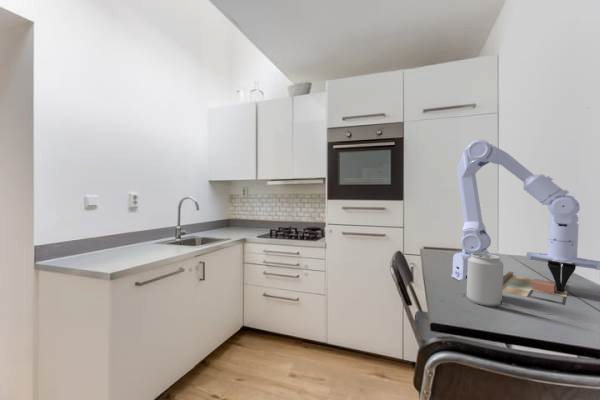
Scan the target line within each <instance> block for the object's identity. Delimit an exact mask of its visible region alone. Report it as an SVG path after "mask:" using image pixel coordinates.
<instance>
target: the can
mask: <svg viewBox="0 0 600 400" xmlns="http://www.w3.org/2000/svg"><path fill="white" fill-rule="evenodd" d="M471 255H472V256H471V257H470V258H469V259H468V271H467V276H466V278H467V279H466V297H467V298H468V299H469V300H470V301H471V302H473V303H474V304H477V305H481V306H484V305H485V306H486V307H497V306H499V305H500V304H502V302H503V301H502V300H503V292H502V289H503V277H504V263H503V262H502V261H501V260H500V259H501V257H500V256H498V255H495V254H491V253H489V254H484V253H472V254H471ZM485 306H484V307H485Z"/></svg>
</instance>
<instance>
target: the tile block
mask: <svg viewBox="0 0 600 400" xmlns="http://www.w3.org/2000/svg"><path fill="white" fill-rule="evenodd" d="M533 279H534V280H533V282H532V289H533V290H538V291H543V292H548V293H553V294H554V293H555V290H556V289H557V288H556V283H555V281H554V282H553V281H548V280H543V279H538V278H537V279H536V278H533ZM538 291H537V292H538ZM543 292H542V293H543ZM548 293H547V294H548ZM553 294H552V295H553Z"/></svg>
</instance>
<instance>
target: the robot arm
mask: <svg viewBox="0 0 600 400" xmlns="http://www.w3.org/2000/svg"><path fill="white" fill-rule="evenodd" d="M490 163H491V164H494V165H499V166H502V167H503V168H504V169H506V170H507V171H508V172H510V173H511V174H512V175H514V176H515V177H516V178H517V179H519V180H520V181H521V182H522V183H523V190H524V191H526V192H527V193H528V194H529V195H530V196H532V198H534V199H535V200H536V201H538V202H539V203H541V205H543V206H547V209H548V211H549V213H550V216H549V217H550V218H549V219H550V220H549V223H548V237H547V238H548V239H547V253H542V252H541V253H540V252H530V251H528V252H526V258H525V259H526V260H528V261H537V262H543V263H545V262H546V263H547V268H548V270H549V271H550V273H551V275H552V277H553V280H554V283H556V289H557V291H558V292H563V293H564V291H565V289H566V285H567V283H568V281H569V279H570V277H571V276H572V275H573V274H574V272H575V271H576V267H578V268H579V267H580V268H587V269H594V270H597V271H600V261H599V260H593V259H588V258H582V257H578V245H579V244H578V243H579V224H578V222H579V216H578V213H579V211H580V209H581V207H580V203H579V201H578V200H577V199H576V198H575V197H574V196H573V195H568V194H569V193H570V192H569V191H568V190H567V189H562V188H561V187H560V186H559V185H558V184H556V183H555V182H553V181H552V180H553V178H552V177H551V176H549V175H547V176H546V175H544V174H534V173H533V172H531V171H530V170H529V169H528V168H527V167H525V166H524V165H522V164H521V162H519V161H518V160H516V159H515V158H514V157H513V156H512V155H510V154H509V153H508V152H507V151H504V150H503V149H501V148H499V147H497V146H495V145H493V144H491V143H489V142H488V141H487V140H484V139H476V140H473V141H472V142H470V143H469V145H468V146H466V147H465V148H464V149H463V153H462V157H461V159H460V161H459V163H458V165H457V167H456V174H457V183H458V189H459V197H460V203H461V211H462V217H463V226H462V229H461V230H462V237H461V239H460V245H461V248H462V251H461V252H456V253H454V255H453V257H452V272H451V273H452V274H451V275H450V276H451V277H452V278H453V279H455V280H457V281H461V280H463V279H466V280H467V271H468V259H469V258H470V257H471V256H472V255H471V254H472V253H484V254H490V252H489V251H488V248H489V247H490V246H491V243H492V239H491V237H490V235H489V234H488V233H487V230H486V226H485V224H484V222H483V215H482V210H481V203H480V197H479V191H478V190H479V189H478V184H477V183H478V181H477V176H476V174H477V172H479V171H480V170H481V169H482V168H483V166H486V165H488V164H490Z"/></svg>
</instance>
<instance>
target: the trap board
mask: <svg viewBox="0 0 600 400" xmlns="http://www.w3.org/2000/svg"><path fill="white" fill-rule="evenodd" d="M534 279H535V278H529V277H524V276H520V275H519V276H518V275H514V272H513V271H508V272H507V273H506V274H505V275H503V289H502V293H509V294H513V295H516V296H522V297H525V298H530V299H535V300H540V301H545V302H547V303H548V302H549V303H554V304H558V305H563V306H565V305H566V300H567V295H568V291H569V287H570V285H569V284H568V285H567V284H566V286H565V289H564V293H563V292H558V291H557V288H556V290H555V293H554V294H553V293H548V292H543V291H538V290H533V289H532V282H533V280H534ZM534 291H535V292H538V293H543V294H548V295H554V296H559V297H563V298H562V302H561V301H557V300H552V299H548V298H543V297H538V296H534V295H532V293H533V292H534Z"/></svg>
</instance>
